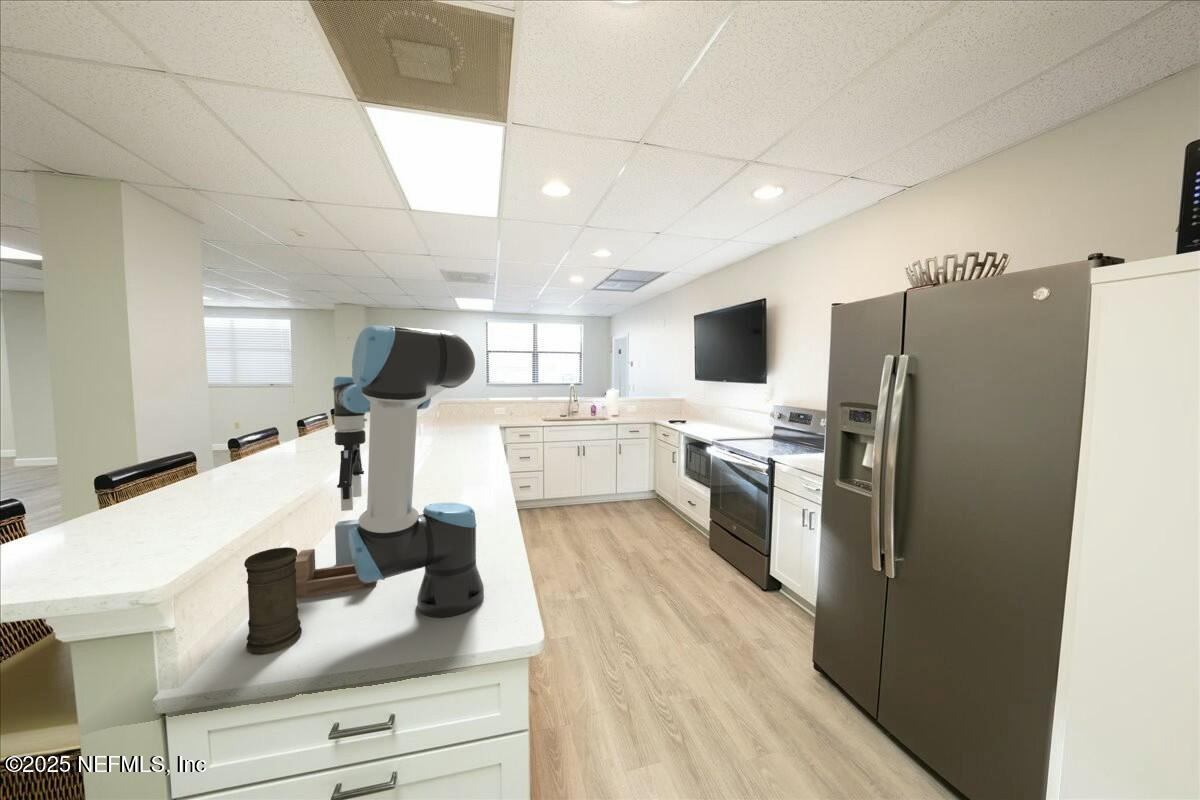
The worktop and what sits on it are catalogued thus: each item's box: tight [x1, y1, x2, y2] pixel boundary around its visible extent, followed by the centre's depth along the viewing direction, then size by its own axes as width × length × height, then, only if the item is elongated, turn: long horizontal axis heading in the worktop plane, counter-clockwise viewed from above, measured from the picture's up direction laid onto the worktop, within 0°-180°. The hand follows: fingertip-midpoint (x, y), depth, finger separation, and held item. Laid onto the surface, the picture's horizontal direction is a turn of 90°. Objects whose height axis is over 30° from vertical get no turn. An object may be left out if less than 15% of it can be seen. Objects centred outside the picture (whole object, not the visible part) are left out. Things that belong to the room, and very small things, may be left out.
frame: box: [295, 548, 379, 599], centre depth 108 cm, size 8×18×9 cm, turn 111°
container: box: [243, 546, 303, 656], centre depth 84 cm, size 9×9×18 cm
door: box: [334, 518, 359, 567], centre depth 121 cm, size 4×8×12 cm, turn 111°
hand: (352, 503), depth 120 cm, fingers open, 13 cm apart
